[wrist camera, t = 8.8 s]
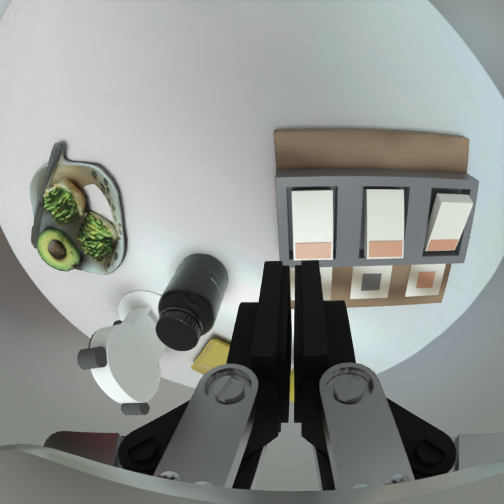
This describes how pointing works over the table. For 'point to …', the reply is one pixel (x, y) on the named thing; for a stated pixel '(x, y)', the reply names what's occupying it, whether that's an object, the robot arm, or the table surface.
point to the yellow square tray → (211, 356)
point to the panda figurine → (128, 353)
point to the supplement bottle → (191, 302)
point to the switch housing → (352, 211)
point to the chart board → (374, 157)
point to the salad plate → (75, 217)
